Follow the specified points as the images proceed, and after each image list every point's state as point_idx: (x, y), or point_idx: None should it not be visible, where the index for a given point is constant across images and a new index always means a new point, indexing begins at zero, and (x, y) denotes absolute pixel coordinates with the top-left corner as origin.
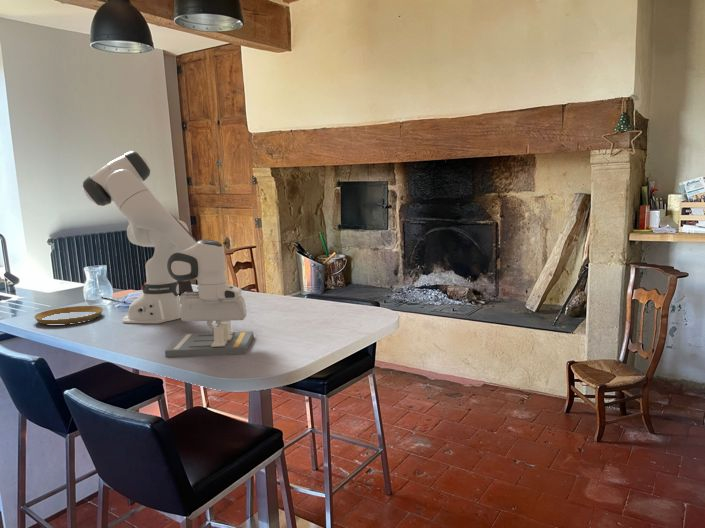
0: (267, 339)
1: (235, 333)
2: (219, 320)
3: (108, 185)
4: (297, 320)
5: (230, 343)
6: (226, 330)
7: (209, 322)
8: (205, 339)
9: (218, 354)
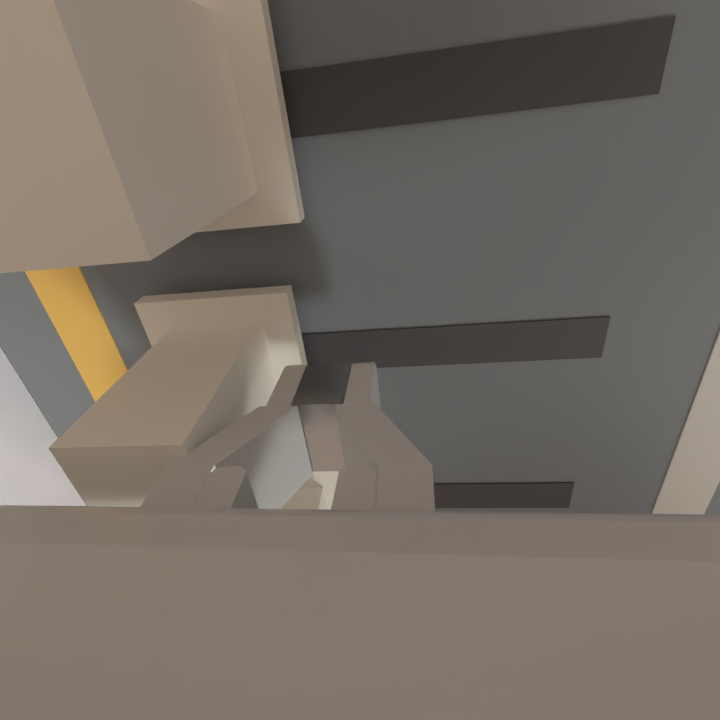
0: (13, 454)
1: None
2: (106, 507)
3: None
4: None
5: None
6: (126, 381)
7: (371, 493)
8: (472, 384)
9: None
